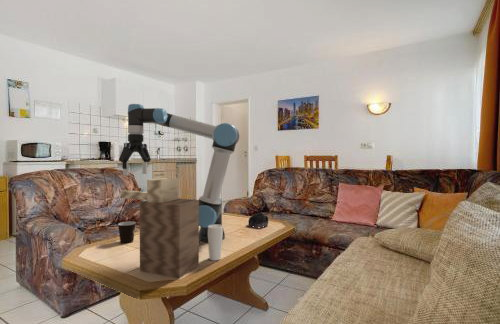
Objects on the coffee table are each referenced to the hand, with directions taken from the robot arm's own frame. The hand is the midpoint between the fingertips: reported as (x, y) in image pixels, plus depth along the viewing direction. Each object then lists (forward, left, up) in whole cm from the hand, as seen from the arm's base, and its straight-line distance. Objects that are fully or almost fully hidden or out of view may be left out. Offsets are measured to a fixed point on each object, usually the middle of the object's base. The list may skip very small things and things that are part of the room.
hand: (135, 174), depth 146 cm
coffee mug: (+4, -7, -37) cm, 38 cm away
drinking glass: (-35, +34, -37) cm, 61 cm away
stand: (-15, +38, -37) cm, 55 cm away
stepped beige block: (-5, +30, -9) cm, 32 cm away
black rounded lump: (-76, -16, -37) cm, 86 cm away
